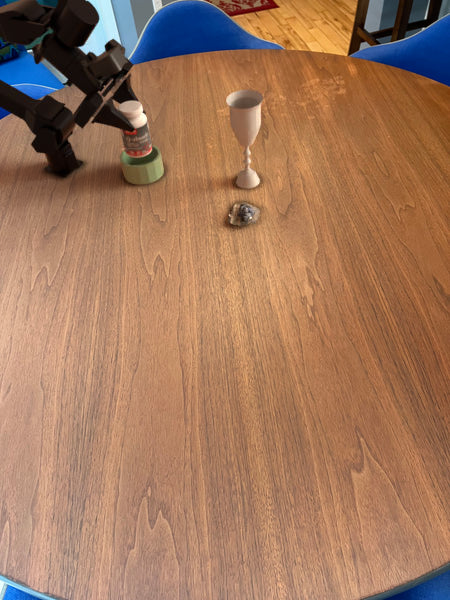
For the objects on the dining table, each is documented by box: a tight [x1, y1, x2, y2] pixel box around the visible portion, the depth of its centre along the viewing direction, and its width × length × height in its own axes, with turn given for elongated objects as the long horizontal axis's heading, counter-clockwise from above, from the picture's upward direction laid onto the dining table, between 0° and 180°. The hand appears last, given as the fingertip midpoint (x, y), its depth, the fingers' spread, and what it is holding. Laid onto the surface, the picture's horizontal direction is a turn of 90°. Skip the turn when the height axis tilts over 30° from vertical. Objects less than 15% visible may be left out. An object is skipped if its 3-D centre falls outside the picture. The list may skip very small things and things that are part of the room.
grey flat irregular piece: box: [227, 202, 261, 227], centre depth 93 cm, size 7×8×2 cm
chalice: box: [225, 89, 264, 190], centre depth 94 cm, size 7×7×18 cm
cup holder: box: [119, 144, 165, 186], centre depth 104 cm, size 9×9×4 cm
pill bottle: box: [117, 101, 153, 158], centre depth 97 cm, size 6×6×10 cm
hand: (139, 122), depth 95 cm, fingers closed on pill bottle, 6 cm apart
